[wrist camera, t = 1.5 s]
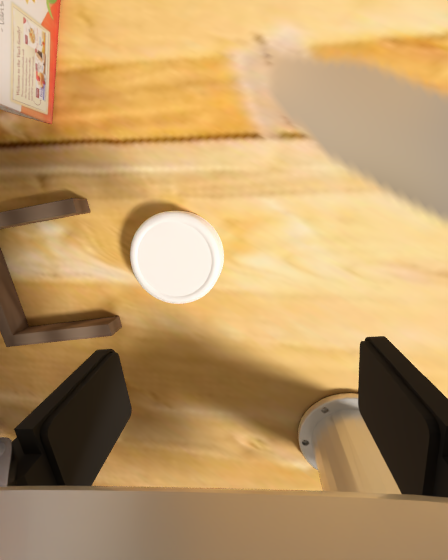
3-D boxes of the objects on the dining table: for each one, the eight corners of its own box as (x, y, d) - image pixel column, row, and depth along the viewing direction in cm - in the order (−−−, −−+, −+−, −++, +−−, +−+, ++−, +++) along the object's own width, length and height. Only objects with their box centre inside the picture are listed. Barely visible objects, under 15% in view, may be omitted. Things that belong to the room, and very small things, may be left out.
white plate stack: (225, 295, 32) (222, 305, 28) (146, 295, 33) (133, 304, 30) (223, 209, 29) (218, 209, 26) (137, 212, 30) (122, 212, 27)
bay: (86, 199, 30) (72, 198, 28) (121, 326, 34) (111, 335, 32) (-21, 220, 33) (-43, 220, 30) (22, 337, 36) (6, 346, 34)
